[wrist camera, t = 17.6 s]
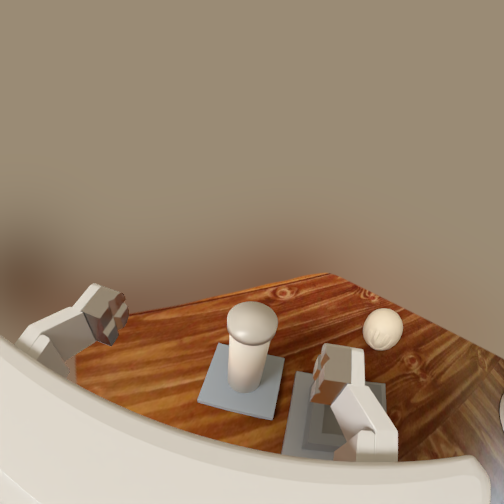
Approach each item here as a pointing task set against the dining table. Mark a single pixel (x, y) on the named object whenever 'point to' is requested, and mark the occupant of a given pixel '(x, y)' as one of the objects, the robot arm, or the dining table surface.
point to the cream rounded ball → (382, 329)
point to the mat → (244, 403)
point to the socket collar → (316, 422)
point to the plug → (249, 344)
